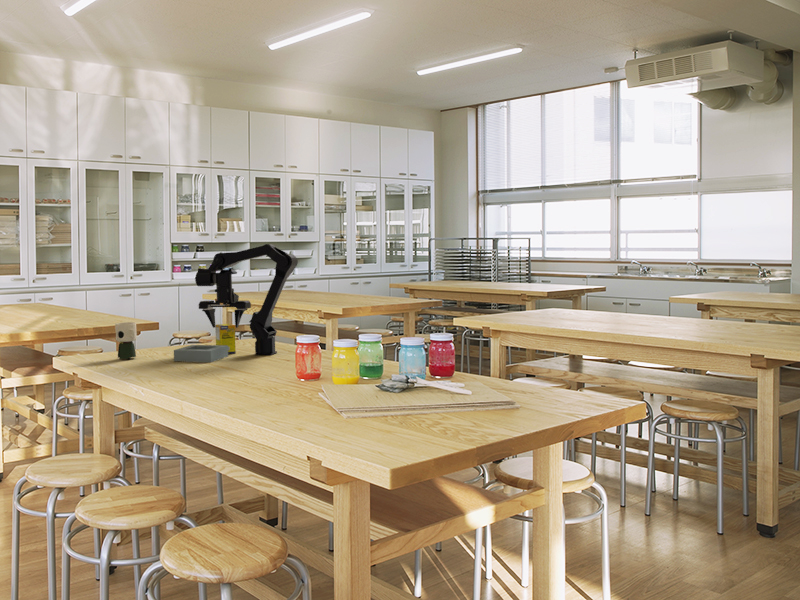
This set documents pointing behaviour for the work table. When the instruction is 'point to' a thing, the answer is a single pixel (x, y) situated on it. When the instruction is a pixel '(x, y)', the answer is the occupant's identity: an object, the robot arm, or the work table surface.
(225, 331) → the supplement box
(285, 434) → the work table surface
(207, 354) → the block
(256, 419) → the work table surface
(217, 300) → the robot arm
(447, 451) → the work table surface
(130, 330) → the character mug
